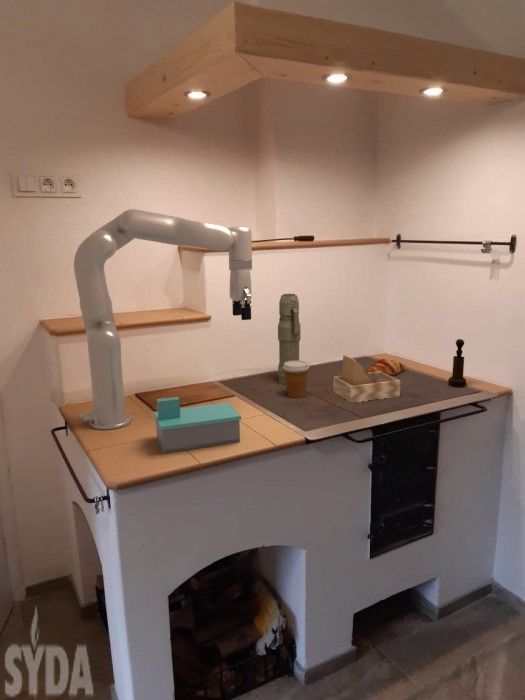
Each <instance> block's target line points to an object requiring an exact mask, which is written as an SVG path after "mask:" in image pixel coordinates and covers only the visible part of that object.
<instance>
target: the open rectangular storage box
mask: <svg viewBox="0 0 525 700" xmlns="http://www.w3.org/2000/svg"><path fill="white" fill-rule="evenodd" d="M368 374H369V375H370V376H371V377H372V378H373V379H374V380H375V381H376V382H377V383H372V384H364V385H356V386H352V385H350V384H348V383H347V382H345V381H343V375H337V376H333V393H334V394H335V395H338V396H339V397H340V396H341V398H342V399H343V400H345V399H346V401H347V402H348V403H350V402H351V403H350V404H356V403H355V402H357V403H363V402H362V401H364V402H369V401H368V400H372V401H376V400H375V399H379V400H384V398H386V399H392V398H400V397H399V396H401V380H399V379H398V378H396V377H393V376H389V375H387V374H385V373H383V372H381V371H378V372H369V373H368Z"/></svg>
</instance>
